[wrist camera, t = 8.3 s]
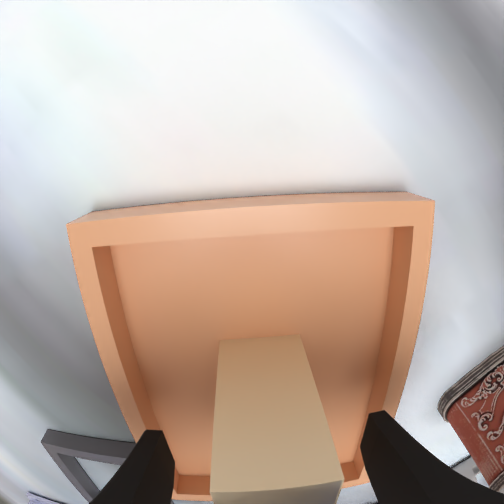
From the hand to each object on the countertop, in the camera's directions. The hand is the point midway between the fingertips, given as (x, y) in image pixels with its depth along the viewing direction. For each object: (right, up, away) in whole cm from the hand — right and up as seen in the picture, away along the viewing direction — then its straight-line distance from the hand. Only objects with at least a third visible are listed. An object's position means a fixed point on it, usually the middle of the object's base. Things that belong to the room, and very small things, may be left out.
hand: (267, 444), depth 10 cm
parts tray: (0, +1, +3) cm, 4 cm away
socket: (-10, -8, +6) cm, 14 cm away
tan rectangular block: (0, +1, +3) cm, 3 cm away
